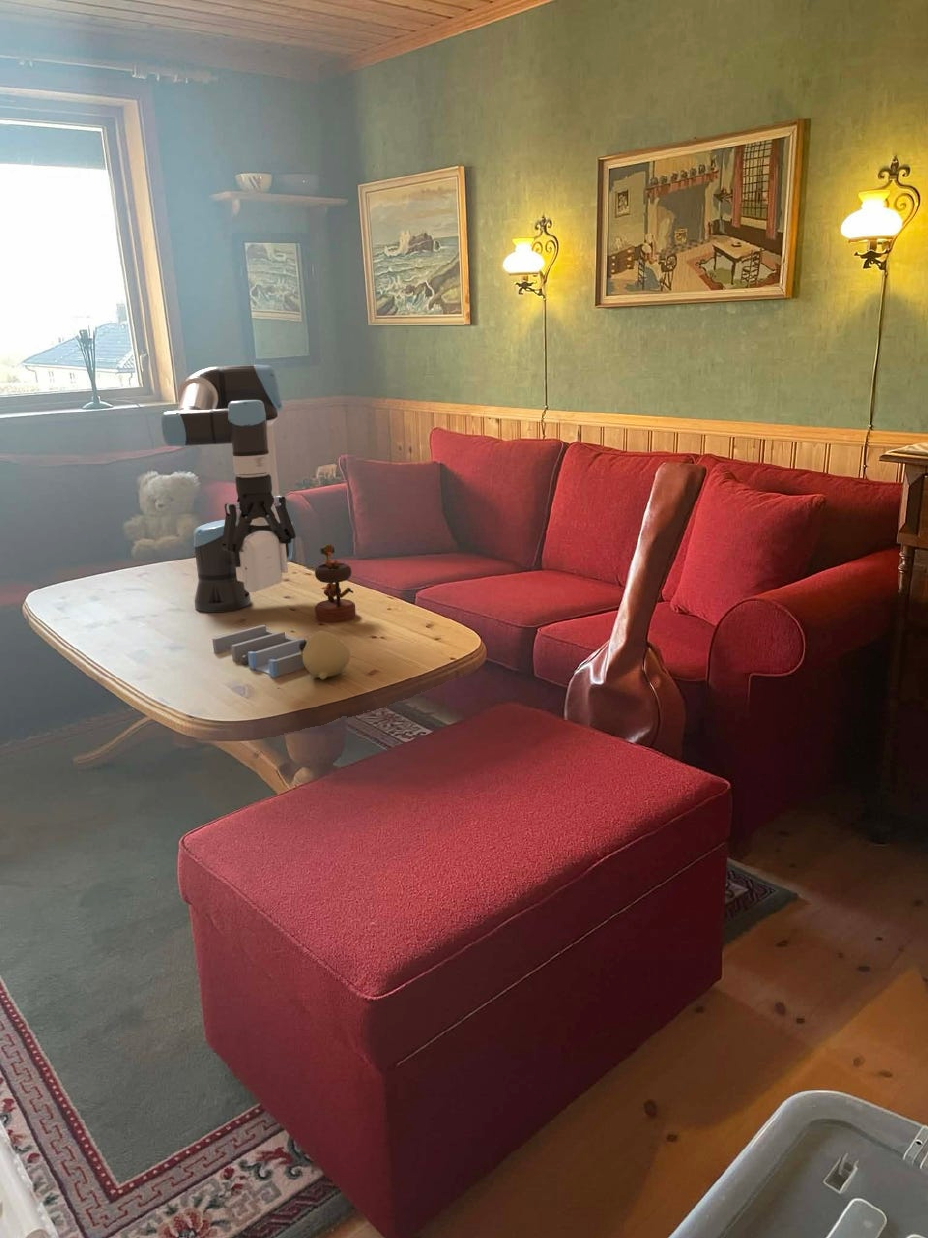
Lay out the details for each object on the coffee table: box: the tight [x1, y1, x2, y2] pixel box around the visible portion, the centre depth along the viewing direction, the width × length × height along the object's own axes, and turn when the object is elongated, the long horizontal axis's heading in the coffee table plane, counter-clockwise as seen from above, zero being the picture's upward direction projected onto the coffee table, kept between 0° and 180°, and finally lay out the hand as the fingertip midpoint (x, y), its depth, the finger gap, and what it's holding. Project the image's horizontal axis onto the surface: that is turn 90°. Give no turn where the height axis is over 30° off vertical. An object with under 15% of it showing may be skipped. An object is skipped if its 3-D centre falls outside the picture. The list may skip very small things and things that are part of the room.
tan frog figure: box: [299, 630, 351, 680], centre depth 200 cm, size 10×12×11 cm
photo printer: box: [240, 531, 283, 593], centre depth 204 cm, size 10×4×12 cm, turn 155°
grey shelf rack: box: [212, 624, 307, 679], centre depth 216 cm, size 26×16×4 cm, turn 45°
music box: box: [314, 543, 357, 624], centre depth 242 cm, size 15×11×20 cm
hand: (262, 576), depth 205 cm, fingers closed on photo printer, 10 cm apart
